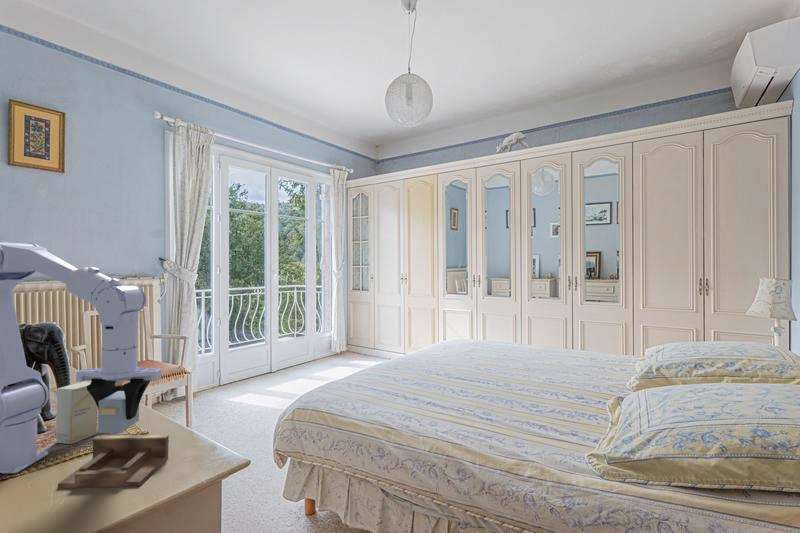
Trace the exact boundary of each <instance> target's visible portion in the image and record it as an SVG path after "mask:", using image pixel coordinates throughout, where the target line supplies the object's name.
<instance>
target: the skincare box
mask: <svg viewBox="0 0 800 533" xmlns="http://www.w3.org/2000/svg"><path fill="white" fill-rule="evenodd" d="M90 383H91V381H82V382H76V383H73V384H68V385H64V386H61V387H58V388H57V390H56V391H57V392H56V430H55V431H56V433H55V442H56V443H58V444H67V445H73V444H75V443H77V442H82V441H83V440H85V439H87V438H90V437H92V436H95V435H97V432H98V428H97V427H98V424H97V423H98V417H97V415H98V407H97V405H96V402H95V400H94V399H93V397H92V396H91V394H90V393H89V392H88V391H87V386H88V385H90Z"/></svg>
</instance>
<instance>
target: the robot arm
mask: <svg viewBox="0 0 800 533" xmlns="http://www.w3.org/2000/svg"><path fill="white" fill-rule="evenodd" d="M36 273H39V274H41V275H44V276H46V277H49V278H50V279H54V280H56V281H59V282H61V283H63V284H65V288H66V291H67V293H69V294H71V295H73V296H75V297H77V298H79V299H81V300H84V301H86V302H87V303H89V304H92V305H93V306H94V308H95V310H96V312H97V313H98V314H99V323H100V324H101V326H102V327H101V329H102V330H101V331H102V332H101V333H102V334H101V367H100V368H99V367H97V368H82V369H80V370H78V371H76V372H75V377H76V378H75V379H76V380H75V382H76V383H79V382H83V381H85V382H91V383H90V385H88V386H87V391H88V392H89V393H90V394H91V396H92V397H93V399H94V400H95V402H96V405H97V411H99V401H100V400H102V399H104V398H106V397H108V396H110V395H111V394H113V392H114V387H115V383H116V381H117V380H124V381H129V382H126V383H125V384H124V383H123V384H122V385H123V390H124V393H125V398H126V418H127V420H130V419H132V418H134V417H135V416H136V414H137V410H138V406H139V407H140V403H141V400H142V398H143V396H144V393H145V391H146V389H147V388H148V386H149V384H150V383H151V382H157V381H159V380H161V379H162V368H152V367H151V368H150V367H138V363H139V362H138V360H139V359H138V356H139V355H138V352H139V347H138V346H139V312H140V311H142V310H143V309H144V307H145V305H146V302H147V297H146V294H145V292H144V290H143V289H142V288H141V287H140V286H138V285H137V284H135V283H130V284H129V283H128V284H123V283H122V282H121V280H120V279H119V278H111V277H109V276H108V275H106V274H104V273H101V269H100V268H98V267H96V266H89V267H87V266H84V267H80V268H77V267H75V266H74V265H73V264H70V263H68V262H67V261H65V260H63V259H61V258H60V257H58V256H56V255H55V254H53V253H51V252H49V251H48V249H47V248H46V247H44V246H41V245H38V244H36V243H34V242H25V243H24V242H9V241H0V472H1V473H2V474H16V473H17V474H18V473H19V472H21V471H22V470H24V469H26V468H28V467H29V466H31V465H32V464H34V463H35V462H37V461H39V460H41V459H43V458H45V457H46V456H48V455H49V452H48V451H38V450H37V449H38V415H39V414H42V408H43V407H45V405H47V403H48V401H49V398H50V392H49V388H48V386H47V385H46V384H45V382H44V381H43V378H42V375H41V372H40V371H39V370H36V369H34V368H32V367H29V366H28V365H27V360H26V355H25V351H24V345H23V341H22V337H21V336H22V335H21V332H20V327H19V322H18V318H17V313H16V312H17V311H16V308H15V302H14V299H13V293H12V291H13V290H14V289H15V288H16V286H18V285H20V284H22V283H23V282H24V281H26V280H27V279H29V278H31V277H32V276H33V275H35V274H36ZM12 384H14V385H12ZM8 385H11V386H8ZM7 386H8V387H7Z"/></svg>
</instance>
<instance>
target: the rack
mask: <svg viewBox="0 0 800 533" xmlns="http://www.w3.org/2000/svg"><path fill="white" fill-rule="evenodd" d="M169 437H170V435H169V434H145V435H144V434H139V435H138V434H137V435H136V434H133V435H130V434H129V435H127V434H126V435H125V434H123V435H96V436H95V437H93V438H92V459H90V460H89V461H88V462H86V463H85V464H83V465H81V466H80V467H79V468H78V469H76V470H75V471H74V472H72V473H70V474H69V475H67V476H66V477H65V478H63V479H62V480H61V481H59V482H58V483H57V489H70V488H71V489H72V488H76V489H77V488H113V487H140V486H142V485H143V484H144V483H145V482H146V481H147V480H148V479H149V478H150V477H151V476H152V475H153V474H154V473H155V472H156V471H157V470H158V469H159V468H160V467H161V466H163V464H165V463H166V462H167V460H168V459H169V440H170V439H169Z"/></svg>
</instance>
